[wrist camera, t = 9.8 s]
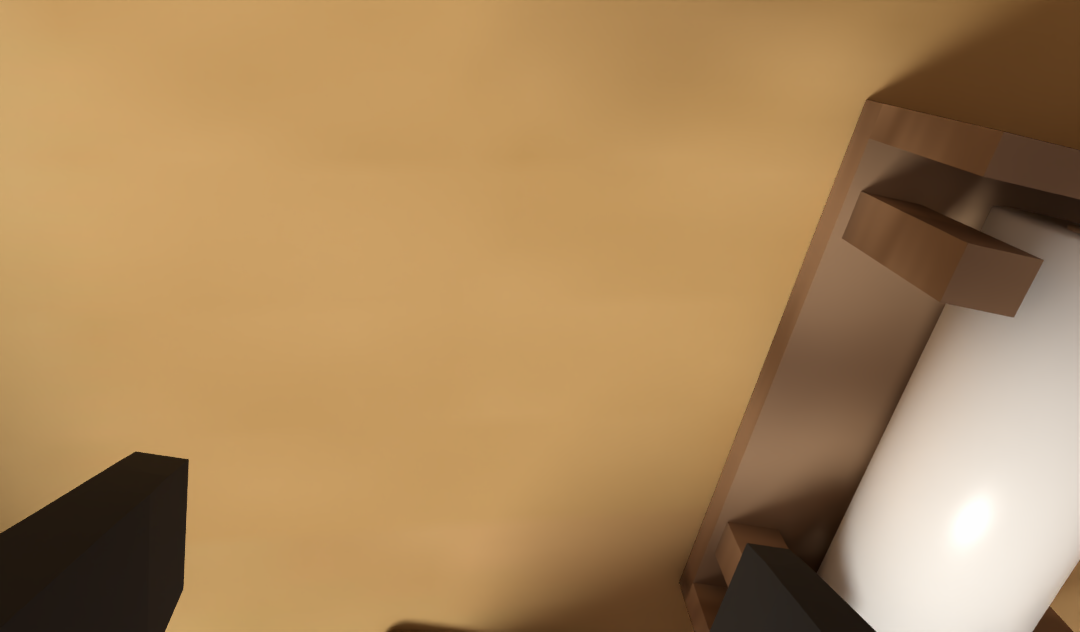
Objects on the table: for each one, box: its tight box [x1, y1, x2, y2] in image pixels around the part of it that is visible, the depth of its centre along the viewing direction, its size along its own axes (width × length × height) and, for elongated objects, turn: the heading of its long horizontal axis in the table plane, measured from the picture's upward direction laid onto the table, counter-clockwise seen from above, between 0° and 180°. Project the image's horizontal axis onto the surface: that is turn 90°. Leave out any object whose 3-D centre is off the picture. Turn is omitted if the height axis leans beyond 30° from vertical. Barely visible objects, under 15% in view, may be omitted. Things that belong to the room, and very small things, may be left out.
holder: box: [679, 100, 1080, 632], centre depth 18 cm, size 15×10×5 cm, turn 167°
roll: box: [817, 206, 1080, 632], centre depth 17 cm, size 12×5×5 cm, turn 167°
